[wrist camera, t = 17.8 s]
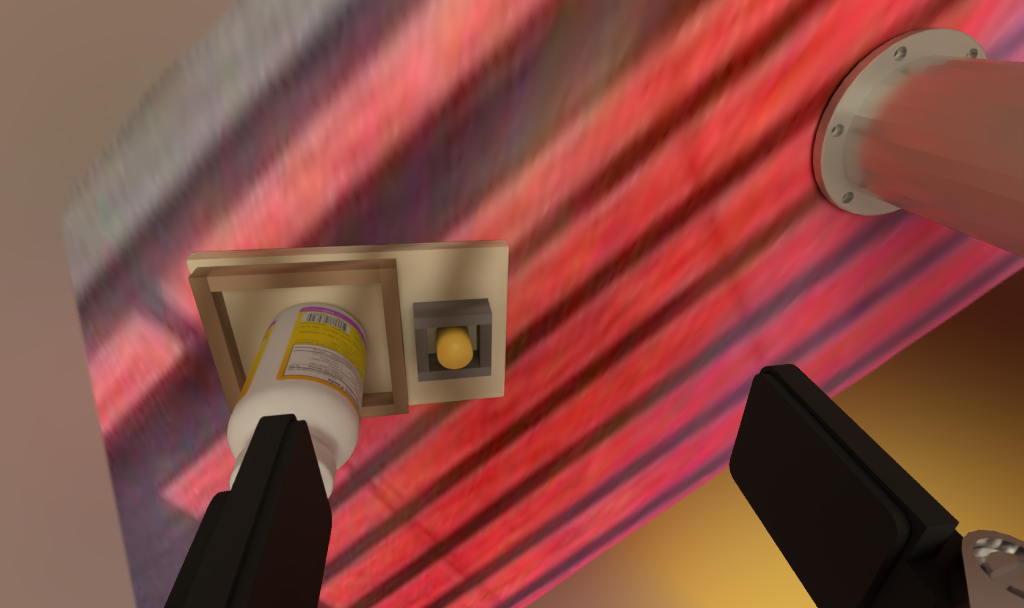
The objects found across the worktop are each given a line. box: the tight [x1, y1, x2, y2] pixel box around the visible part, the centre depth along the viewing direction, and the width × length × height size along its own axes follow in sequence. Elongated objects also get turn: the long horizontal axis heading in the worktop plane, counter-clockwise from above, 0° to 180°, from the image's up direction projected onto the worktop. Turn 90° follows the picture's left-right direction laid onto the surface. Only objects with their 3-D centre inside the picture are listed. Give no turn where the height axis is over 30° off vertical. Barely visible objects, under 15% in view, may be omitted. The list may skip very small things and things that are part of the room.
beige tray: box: [186, 240, 509, 418], centre depth 36 cm, size 20×13×3 cm, turn 88°
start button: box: [435, 326, 473, 369], centre depth 36 cm, size 2×2×3 cm
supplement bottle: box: [227, 303, 367, 498], centre depth 30 cm, size 7×7×13 cm
